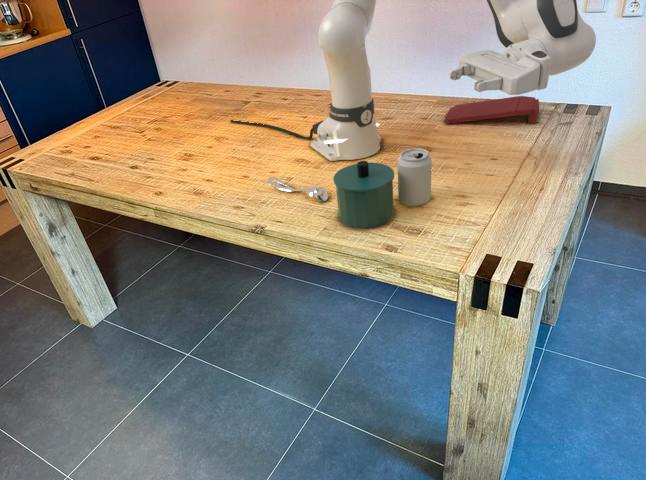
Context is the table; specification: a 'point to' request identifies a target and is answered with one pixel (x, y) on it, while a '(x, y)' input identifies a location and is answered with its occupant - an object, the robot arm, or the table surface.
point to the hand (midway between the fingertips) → (463, 81)
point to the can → (414, 177)
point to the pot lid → (363, 177)
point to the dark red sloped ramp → (495, 109)
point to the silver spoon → (312, 191)
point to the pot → (365, 207)
